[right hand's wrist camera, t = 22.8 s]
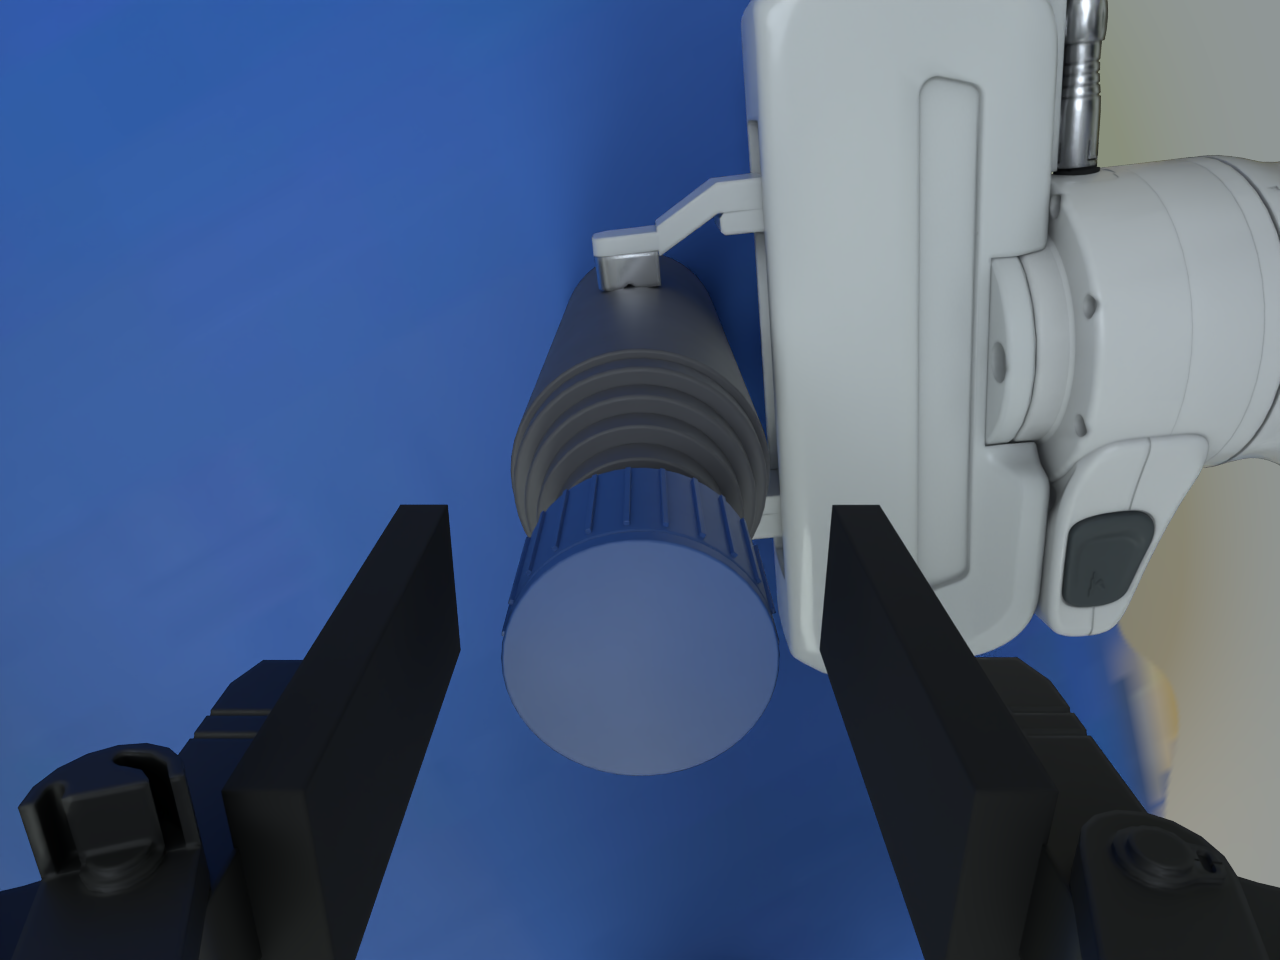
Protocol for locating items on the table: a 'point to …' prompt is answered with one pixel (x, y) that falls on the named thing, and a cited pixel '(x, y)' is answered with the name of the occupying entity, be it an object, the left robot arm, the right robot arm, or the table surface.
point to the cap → (640, 625)
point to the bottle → (640, 398)
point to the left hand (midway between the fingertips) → (610, 380)
